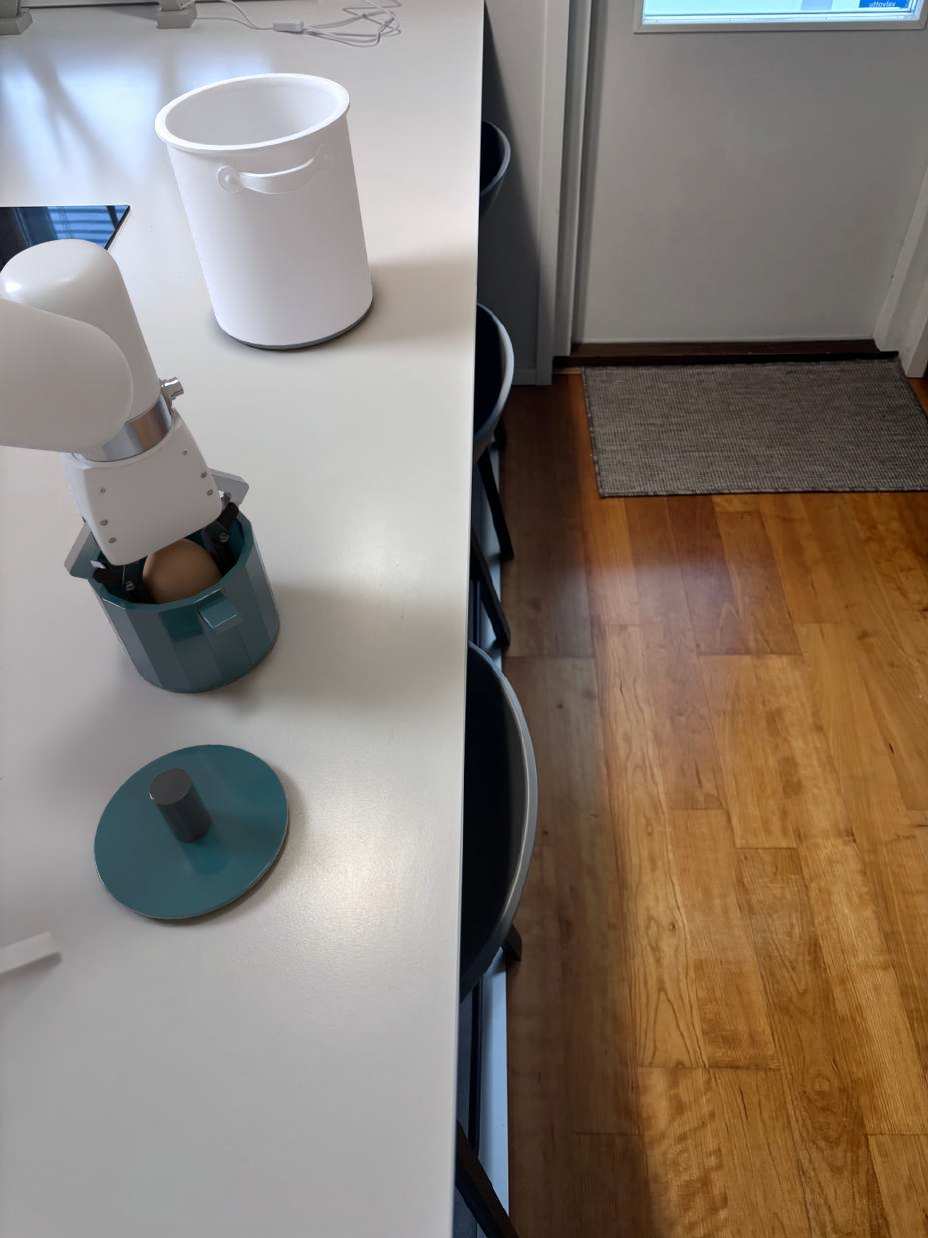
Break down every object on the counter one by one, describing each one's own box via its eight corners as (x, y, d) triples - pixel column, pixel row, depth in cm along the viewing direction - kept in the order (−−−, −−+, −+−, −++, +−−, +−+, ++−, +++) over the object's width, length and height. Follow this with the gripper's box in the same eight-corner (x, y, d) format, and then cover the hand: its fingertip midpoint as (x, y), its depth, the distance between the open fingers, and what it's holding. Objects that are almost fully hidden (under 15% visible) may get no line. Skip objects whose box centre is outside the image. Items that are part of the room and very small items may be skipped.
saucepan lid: (147, 964, 66) (115, 924, 61) (69, 820, 74) (35, 774, 69) (325, 844, 71) (309, 797, 66) (234, 721, 79) (214, 672, 74)
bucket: (407, 336, 117) (381, 127, 99) (235, 382, 113) (175, 173, 95) (347, 247, 133) (315, 54, 115) (195, 285, 129) (137, 90, 111)
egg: (143, 622, 84) (112, 555, 78) (195, 577, 87) (169, 509, 81) (196, 651, 81) (167, 584, 75) (247, 603, 84) (223, 535, 78)
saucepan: (183, 739, 78) (143, 659, 71) (94, 610, 89) (50, 528, 81) (322, 657, 83) (299, 573, 76) (222, 544, 94) (193, 460, 86)
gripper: (200, 352, 74) (253, 522, 87) (-18, 445, 68) (75, 614, 81) (246, 394, 70) (294, 566, 83) (18, 497, 63) (110, 666, 77)
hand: (185, 588), depth 82 cm, fingers closed on egg, 6 cm apart
